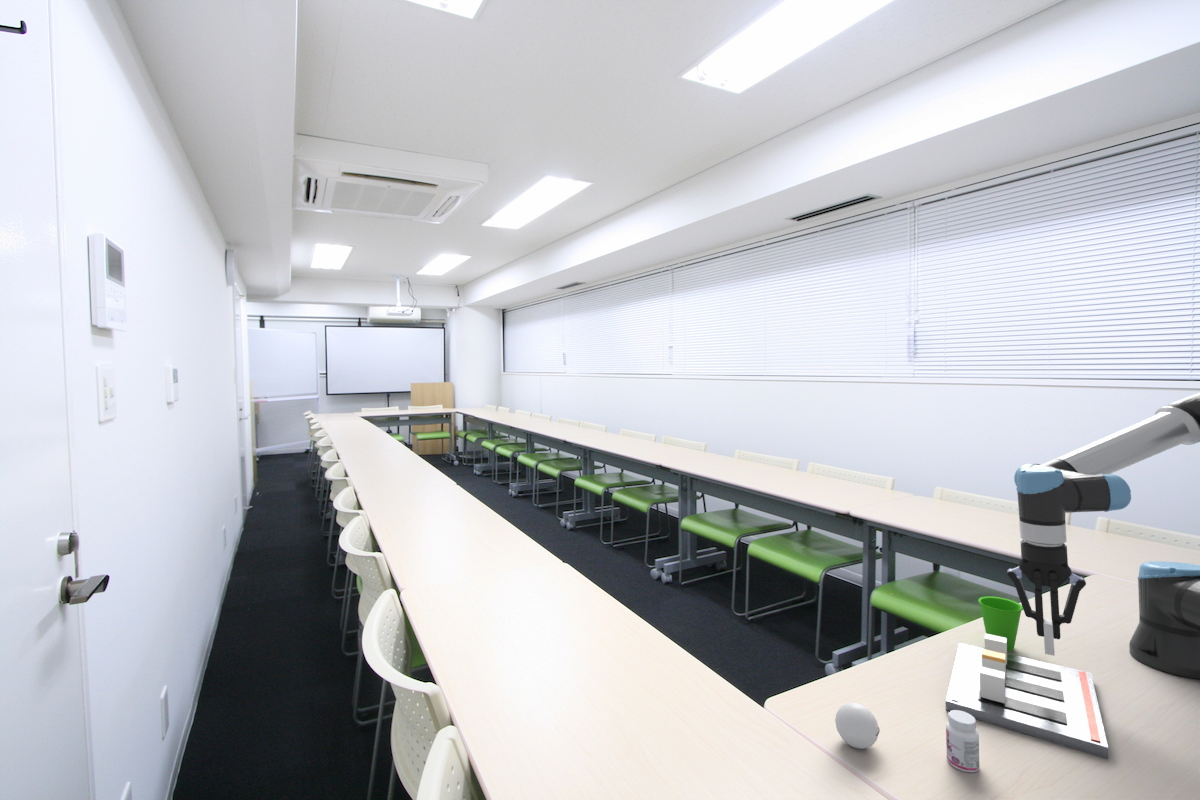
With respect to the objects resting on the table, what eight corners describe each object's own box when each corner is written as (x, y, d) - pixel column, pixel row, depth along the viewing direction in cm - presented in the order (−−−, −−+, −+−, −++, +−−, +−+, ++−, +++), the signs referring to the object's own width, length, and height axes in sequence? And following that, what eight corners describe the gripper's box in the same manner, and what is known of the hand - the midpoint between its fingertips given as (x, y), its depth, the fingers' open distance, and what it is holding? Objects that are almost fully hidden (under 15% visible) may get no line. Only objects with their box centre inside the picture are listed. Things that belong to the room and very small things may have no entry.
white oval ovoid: (878, 763, 93) (877, 722, 93) (832, 749, 97) (831, 710, 97) (882, 731, 102) (881, 694, 102) (840, 720, 106) (839, 683, 106)
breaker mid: (1005, 676, 115) (1005, 653, 115) (1005, 682, 112) (1005, 659, 112) (983, 671, 117) (982, 648, 117) (982, 677, 115) (982, 654, 115)
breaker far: (1007, 659, 122) (1006, 637, 122) (1006, 664, 119) (1006, 643, 119) (985, 654, 124) (985, 633, 124) (984, 659, 122) (984, 638, 122)
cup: (1032, 657, 127) (1031, 611, 127) (989, 654, 129) (989, 609, 129) (1011, 639, 136) (1010, 597, 136) (971, 637, 138) (971, 595, 138)
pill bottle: (940, 755, 95) (939, 709, 95) (965, 753, 95) (964, 707, 95) (960, 774, 90) (959, 726, 90) (986, 772, 91) (985, 723, 90)
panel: (1090, 681, 116) (1090, 671, 116) (1108, 758, 93) (1108, 746, 93) (959, 650, 131) (959, 641, 131) (945, 710, 108) (945, 699, 108)
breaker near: (1005, 696, 108) (1004, 672, 108) (1004, 703, 105) (1004, 678, 105) (981, 689, 110) (980, 666, 110) (980, 696, 108) (979, 672, 108)
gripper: (1082, 540, 111) (1089, 651, 111) (1004, 533, 118) (1010, 637, 119) (1086, 550, 105) (1093, 668, 105) (1004, 542, 113) (1010, 652, 113)
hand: (1049, 651), depth 112 cm, fingers closed
